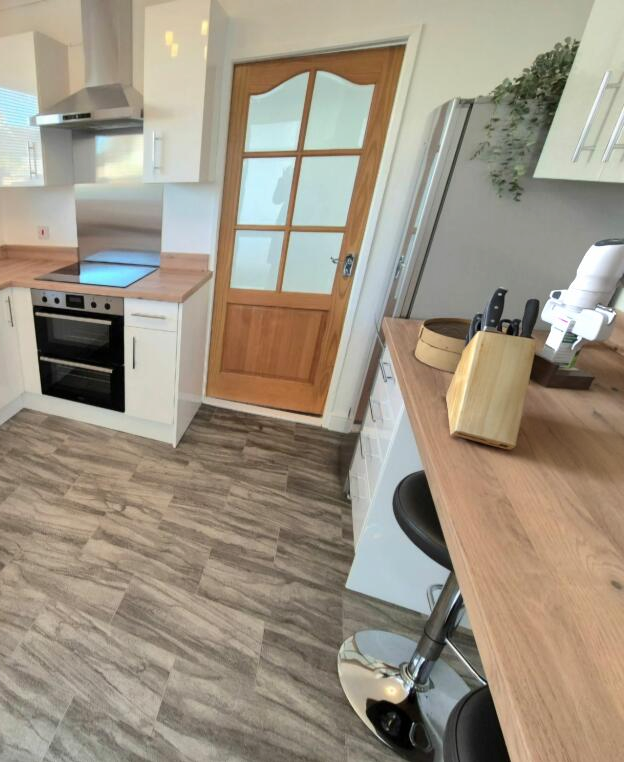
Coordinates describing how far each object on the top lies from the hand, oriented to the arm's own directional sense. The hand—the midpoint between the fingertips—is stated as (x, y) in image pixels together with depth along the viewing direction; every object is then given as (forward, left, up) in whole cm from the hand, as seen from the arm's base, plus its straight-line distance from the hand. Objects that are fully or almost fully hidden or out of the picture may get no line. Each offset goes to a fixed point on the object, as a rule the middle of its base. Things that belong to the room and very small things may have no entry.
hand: (563, 345), depth 126 cm
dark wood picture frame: (+1, 0, -10) cm, 10 cm away
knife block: (+36, +29, -10) cm, 48 cm away
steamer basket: (+21, -9, -10) cm, 25 cm away
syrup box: (0, 0, -6) cm, 6 cm away
